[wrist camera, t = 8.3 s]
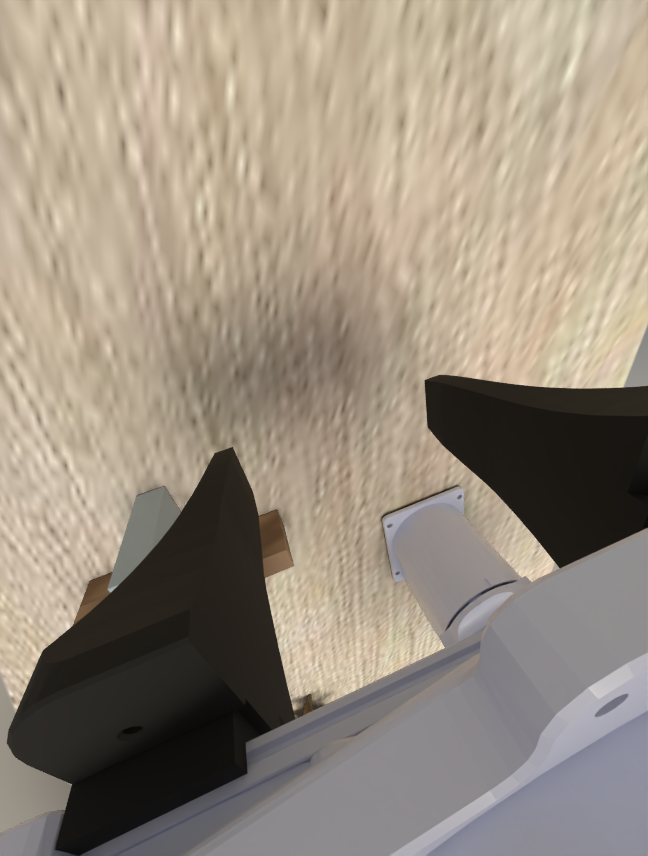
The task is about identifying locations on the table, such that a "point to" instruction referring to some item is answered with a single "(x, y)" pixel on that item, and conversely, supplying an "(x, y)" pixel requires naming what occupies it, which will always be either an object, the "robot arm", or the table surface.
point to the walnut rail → (272, 553)
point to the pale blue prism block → (144, 531)
